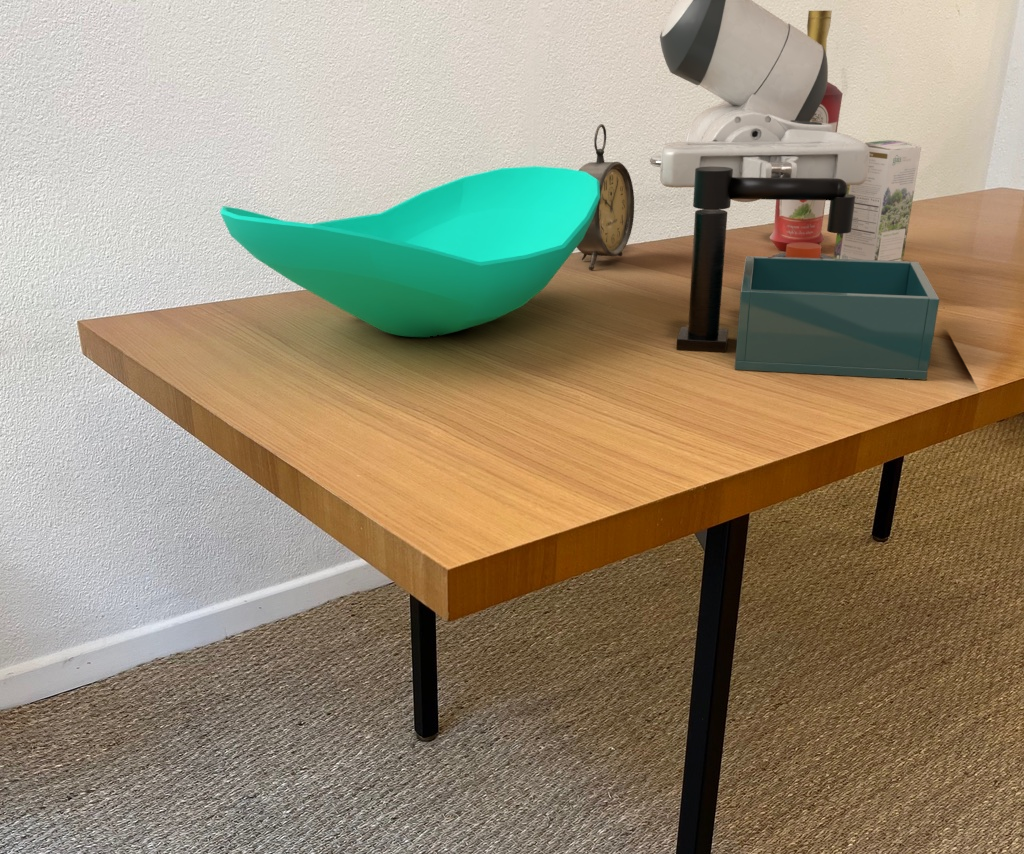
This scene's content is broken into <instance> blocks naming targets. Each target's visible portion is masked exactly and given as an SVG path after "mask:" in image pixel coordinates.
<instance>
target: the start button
mask: <svg viewBox="0 0 1024 854" xmlns="http://www.w3.org/2000/svg"><path fill="white" fill-rule="evenodd" d="M785 253H786V257H792V258H820V256H821V254H822V245H821V244H815V243H807V242H796V243H789V244H787V247H786V251H785Z"/></svg>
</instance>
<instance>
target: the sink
mask: <svg viewBox="0 0 1024 854" xmlns="http://www.w3.org/2000/svg"><path fill="white" fill-rule="evenodd" d="M939 304H940V298H939V296H938V295H937V292H936V291H935V289H934V287H933V285H932V284H931V282H930V280H929V278H928V277H927V274H926V272H925V271H924V269H923V268H922V266H921V264H920V262H919V261H909V260H908V261H907V260H903V261H883V260H853V259H822V258H792V257H772V256H761V255H760V256H759V255H757V256H756V255H746V256H745V259H744V267H743V274H742V281H741V288H740V299H739V310H738V323H737V335H736V346H735V347H736V348H735V358H734V359H735V361H734V370H736V371H754V372H769V373H770V372H771V373H788V374H789V373H791V374H807V375H824V376H840V377H841V376H843V377H861V378H862V377H863V378H878V379H895V378H904V379H903V380H906V379H905V378H910V379H909V380H913V379H926V380H927V379H928V373H929V367H930V366H929V365H930V360H931V354H932V348H933V342H934V337H935V329H936V324H937V319H938V318H937V317H938V312H939V306H940V305H939Z"/></svg>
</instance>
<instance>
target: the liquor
mask: <svg viewBox="0 0 1024 854" xmlns="http://www.w3.org/2000/svg"><path fill="white" fill-rule="evenodd" d="M832 13H833V10H808V14H807V24H806V29H807V30H806V31H807V34H806V35H807V36H809V37H810V38H812V39H813V40H815V41H816V42H818V43H819V44H820V45H823V47H824V49H825V52H826V53H827V38H828V36H829V31H830V28H831V23H832ZM842 100H843V92H842V91H841V90H840V89H839V88H838V87H837V86H836V85H835V84H833V83H830V82H829V81H828V82H827V88H826V92H825V95H824V97H823V99H822V101H821V103H820V105H819V107H818V109H817V111H816V113H815V114H814V116H813V117H812V119H811V120H810V122H819V123H827V124H830V125H832V126H833V132H836V133H838V127H839V121H840V113H841V107H842ZM826 201H827V200H775V209H774V210H775V211H774V222H773V223H774V224H773V231H772V233H771V234H770V236H769V239H770V240H771V242H772V243H773V244H774V246H775V247H776V248H777V249H778V250H779V251H783V252H786V247H787V244H789V243H796V242H807V243H815V244H819V245H821V243H823V242H824V241H825V238H824V236H823V233H822V229H823V222H824V215H825V207H826Z"/></svg>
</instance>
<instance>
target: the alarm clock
mask: <svg viewBox="0 0 1024 854" xmlns="http://www.w3.org/2000/svg"><path fill="white" fill-rule="evenodd" d="M601 128H602V131H603V132H602V133H603V143H602V147H601V148H598V144H597V142H598V134H599V131H600V129H601ZM593 144H594V150H595V154H596V161H593V162H587V163H586V164H584V165H582V166H581V167H580V168H579V169H578V171H584V172H586V173H588V174H590V175H591V176H593V177H594V178H596V179H597V180H598V181H599V186H600V199H599V202H598V205H597V208H596V211H595V215H594V217H593V219H592V221H591V223H590V225H589V228H588V230H587V232H586V234H585V236H584V238H583V240H582V241H581V242H580V243H579V245H578V246H577V247H576V249H577V250H578V251H579V252H581V253H582V254H583V255H582V258H581V261H583V260H585V258H587V256H590V265H589V266H588V269H589V271H594V270H595V264H596V262H597V258H598V257H616V256H619V257H622V256H623V251H624V250H625V248H626V247H627V244H628V242H629V239H630V237H631V234H632V230H633V226H634V218H635V194H634V193H635V192H634V187H633V181H632V178H631V175H630V173H629V171H628V168H627V167H626V166H625V165H624V164H623V163H622V162H620V161H605V158H604V153H605V149H606V144H607V130H606V127H605V125H604V124H603V123H600V124H599V125H598V126H597V128H596V130H595V133H594V139H593Z"/></svg>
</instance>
